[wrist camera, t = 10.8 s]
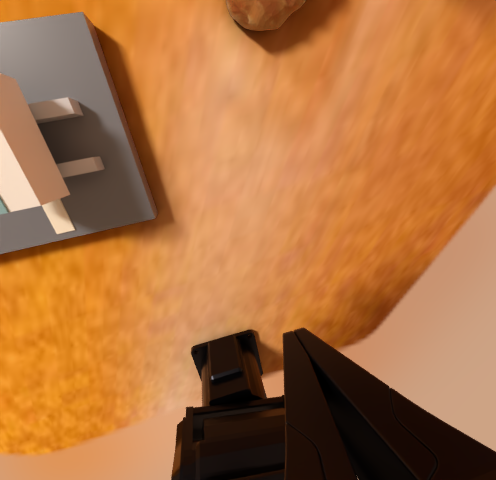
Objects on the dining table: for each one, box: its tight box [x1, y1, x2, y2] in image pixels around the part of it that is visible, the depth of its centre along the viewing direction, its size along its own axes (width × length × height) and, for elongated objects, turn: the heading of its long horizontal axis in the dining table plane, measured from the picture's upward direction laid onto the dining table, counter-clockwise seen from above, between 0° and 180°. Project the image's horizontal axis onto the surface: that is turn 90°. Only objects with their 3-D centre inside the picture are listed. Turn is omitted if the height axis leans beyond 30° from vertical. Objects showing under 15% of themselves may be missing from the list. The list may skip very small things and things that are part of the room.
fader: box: [0, 73, 70, 214], centre depth 13 cm, size 6×4×5 cm, turn 11°
